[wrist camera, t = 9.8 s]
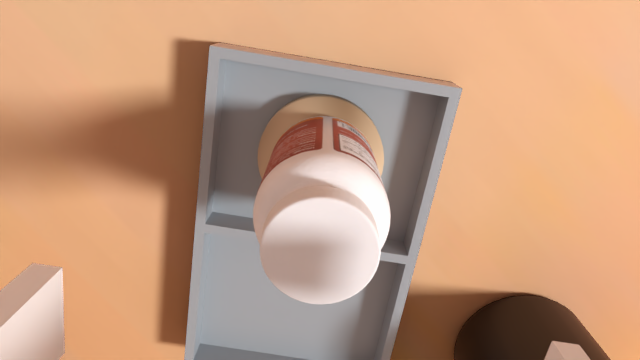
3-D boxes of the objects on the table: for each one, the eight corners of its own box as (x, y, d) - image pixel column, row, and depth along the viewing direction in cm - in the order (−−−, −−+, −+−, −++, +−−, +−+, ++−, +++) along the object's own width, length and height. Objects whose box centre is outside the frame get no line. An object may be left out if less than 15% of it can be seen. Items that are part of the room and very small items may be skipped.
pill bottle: (270, 208, 29) (237, 317, 19) (273, 110, 27) (237, 173, 17) (370, 214, 29) (391, 326, 19) (380, 117, 27) (410, 183, 17)
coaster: (253, 200, 31) (250, 207, 29) (268, 84, 28) (265, 87, 27) (368, 219, 31) (370, 226, 30) (393, 105, 28) (396, 109, 27)
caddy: (193, 343, 35) (183, 366, 33) (219, 42, 28) (209, 45, 25) (376, 370, 36) (380, 395, 33) (451, 81, 28) (462, 88, 26)
